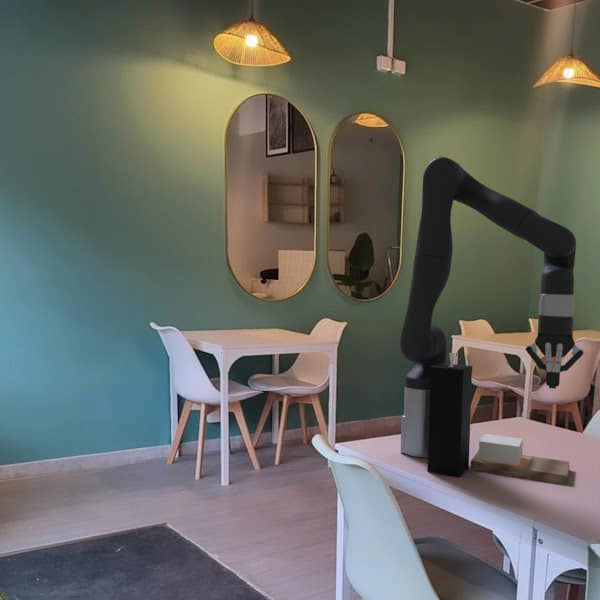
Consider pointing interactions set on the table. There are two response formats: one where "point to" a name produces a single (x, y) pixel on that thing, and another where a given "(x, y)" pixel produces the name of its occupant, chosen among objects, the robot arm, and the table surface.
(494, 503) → the table surface
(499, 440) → the carton
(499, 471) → the podium
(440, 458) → the black rectangular column
